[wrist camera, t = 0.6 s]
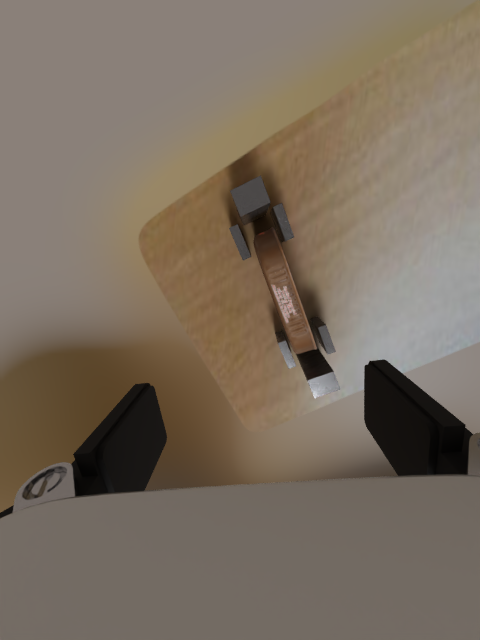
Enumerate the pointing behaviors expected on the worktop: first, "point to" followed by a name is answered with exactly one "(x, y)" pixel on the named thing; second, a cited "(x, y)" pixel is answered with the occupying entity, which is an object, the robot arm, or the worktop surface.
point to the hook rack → (315, 367)
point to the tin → (284, 291)
